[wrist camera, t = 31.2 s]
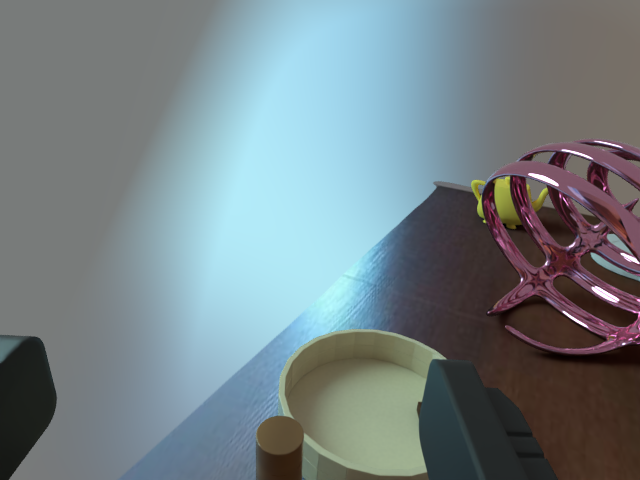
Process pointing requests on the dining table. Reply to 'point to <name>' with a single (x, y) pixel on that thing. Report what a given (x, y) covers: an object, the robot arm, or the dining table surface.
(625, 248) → the lid
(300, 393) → the pan
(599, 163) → the pink metal ribbed cage
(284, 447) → the sponge brush
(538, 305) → the dining table surface
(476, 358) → the dining table surface
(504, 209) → the teapot
